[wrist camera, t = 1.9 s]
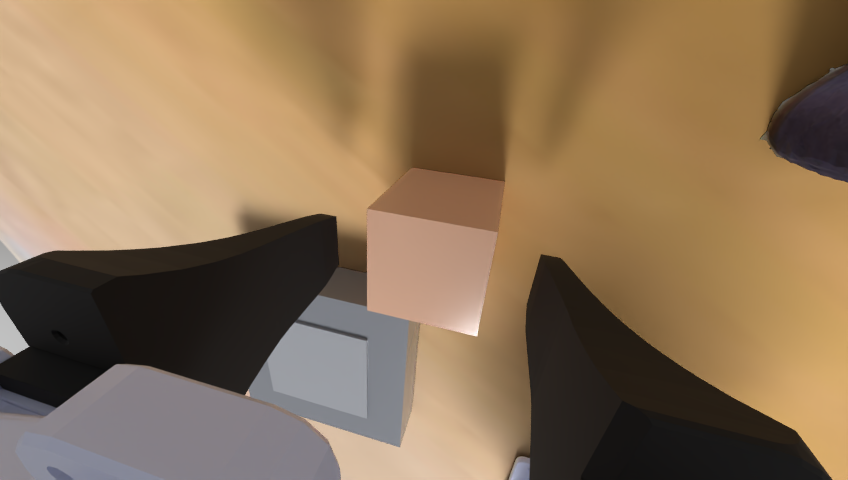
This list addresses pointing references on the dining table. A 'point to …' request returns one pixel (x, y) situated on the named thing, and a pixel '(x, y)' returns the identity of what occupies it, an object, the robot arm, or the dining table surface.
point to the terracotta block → (433, 248)
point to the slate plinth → (345, 364)
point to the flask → (815, 126)
